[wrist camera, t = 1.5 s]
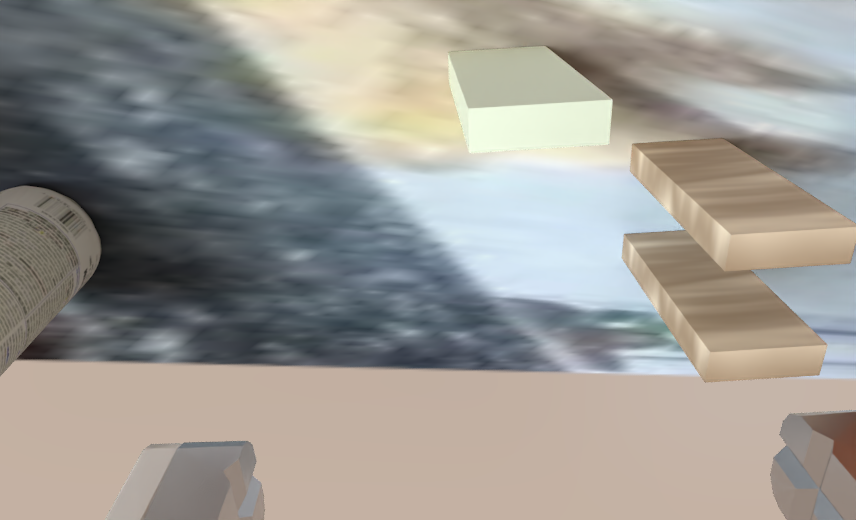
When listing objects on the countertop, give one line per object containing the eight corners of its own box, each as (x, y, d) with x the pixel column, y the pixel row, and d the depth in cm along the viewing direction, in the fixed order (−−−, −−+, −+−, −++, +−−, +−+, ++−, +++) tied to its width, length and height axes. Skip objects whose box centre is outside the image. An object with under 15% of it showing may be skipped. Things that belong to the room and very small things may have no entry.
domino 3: (624, 233, 38) (710, 352, 27) (708, 228, 38) (827, 344, 27) (621, 258, 38) (704, 382, 28) (704, 252, 38) (819, 375, 28)
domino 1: (447, 51, 33) (468, 108, 22) (545, 45, 33) (612, 99, 22) (449, 83, 33) (469, 153, 23) (544, 77, 33) (609, 144, 23)
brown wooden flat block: (632, 143, 35) (731, 234, 25) (722, 138, 35) (860, 226, 25) (629, 171, 36) (724, 271, 25) (718, 165, 36) (850, 263, 25)
